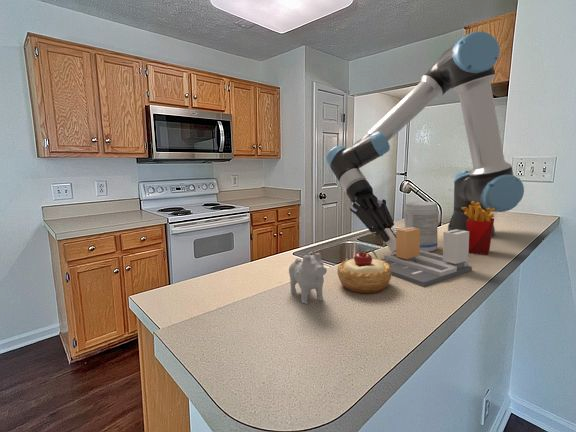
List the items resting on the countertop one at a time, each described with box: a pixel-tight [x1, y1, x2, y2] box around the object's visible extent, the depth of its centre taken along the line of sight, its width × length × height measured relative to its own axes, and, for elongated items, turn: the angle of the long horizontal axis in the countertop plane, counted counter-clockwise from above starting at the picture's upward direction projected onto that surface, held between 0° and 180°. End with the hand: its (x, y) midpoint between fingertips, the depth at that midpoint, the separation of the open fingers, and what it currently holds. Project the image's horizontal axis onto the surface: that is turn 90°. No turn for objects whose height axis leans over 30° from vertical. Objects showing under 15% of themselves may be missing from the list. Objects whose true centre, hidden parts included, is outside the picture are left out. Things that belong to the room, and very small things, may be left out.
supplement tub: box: [404, 201, 439, 253], centre depth 101 cm, size 10×10×15 cm
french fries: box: [462, 201, 495, 256], centre depth 95 cm, size 9×8×15 cm
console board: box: [380, 229, 473, 287], centre depth 83 cm, size 18×18×10 cm
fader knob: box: [395, 227, 420, 262], centre depth 86 cm, size 5×4×9 cm
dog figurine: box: [288, 252, 328, 305], centre depth 68 cm, size 5×13×11 cm, turn 22°
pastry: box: [337, 248, 392, 294], centre depth 74 cm, size 12×12×9 cm
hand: (396, 249), depth 89 cm, fingers closed
